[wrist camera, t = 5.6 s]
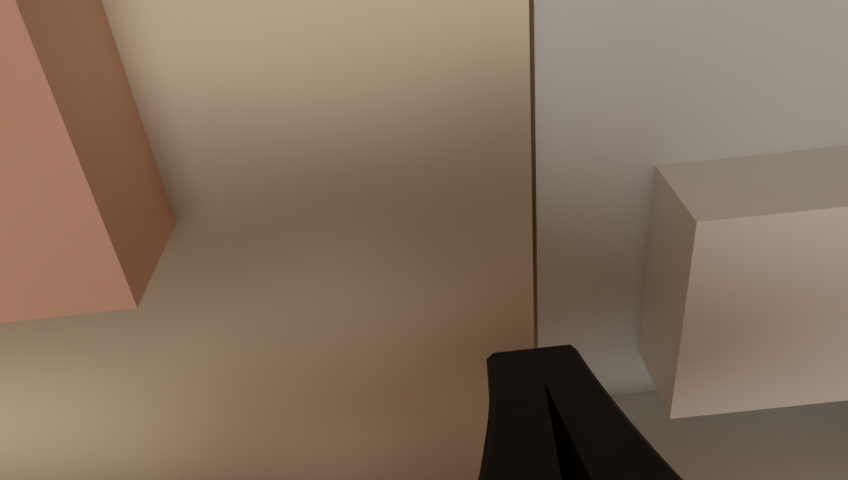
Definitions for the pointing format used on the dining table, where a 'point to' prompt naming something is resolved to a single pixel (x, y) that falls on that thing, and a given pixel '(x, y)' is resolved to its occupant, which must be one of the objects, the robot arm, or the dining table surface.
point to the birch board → (301, 251)
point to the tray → (634, 185)
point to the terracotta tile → (72, 167)
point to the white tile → (748, 283)
